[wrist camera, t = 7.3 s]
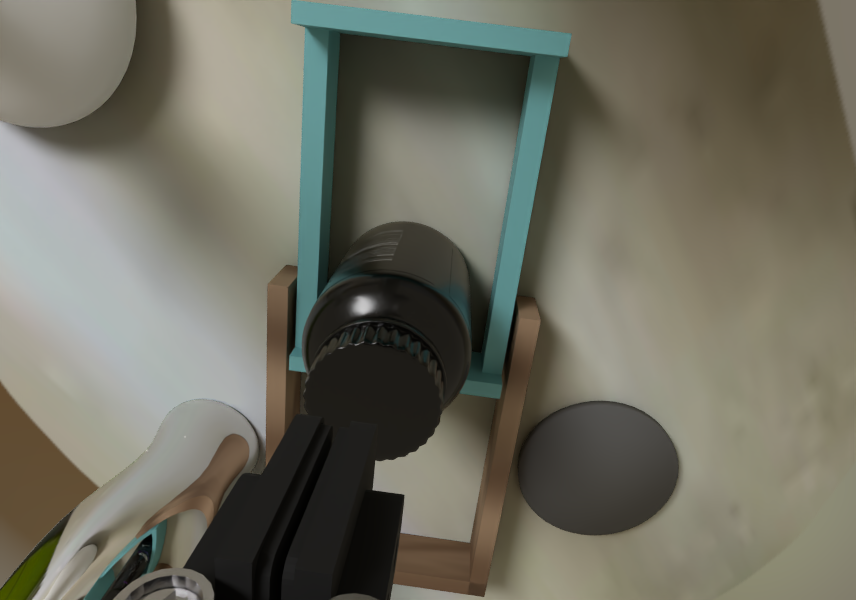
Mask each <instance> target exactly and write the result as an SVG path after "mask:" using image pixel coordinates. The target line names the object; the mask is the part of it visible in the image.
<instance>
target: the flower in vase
mask: <svg viewBox="0 0 856 600" xmlns="http://www.w3.org/2000/svg"><path fill="white" fill-rule="evenodd" d="M136 21H137V16H136V0H0V120H1V121H4V122H7V123H11V124H15V125H19V126H26V127H36V128H48V127H55V126H62V125H66V124H69V123H72V122H75V121H78V120H80V119H82V118H84V117H86V116H88V115H90V114H91V113H92V112H94V111H95V110H96V109H98V108H99V107H101V106H102V105H103V104H104V103H105V102H106V101H107V100H108V99H109V98H110V96H111V95H112V94H113V92H114V91H115V90H116V88H117V87H118V85H119V84H120V82H121V80H122V78H123V76H124V74H125V72H126V70H127V68H128V65H129V62H130V59H131V56H132V53H133V47H134V42H135V37H136Z"/></svg>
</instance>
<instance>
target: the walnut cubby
mask: <svg viewBox="0 0 856 600" xmlns="http://www.w3.org/2000/svg"><path fill="white" fill-rule="evenodd" d="M297 274H298V266H291V265H286V266H285V267H284V268H283V269H282V270H281V271H280V272H279V273H278V274H277V275H276V276H275V277H274V278H273V279H272V280H271V281H270V282H269V283H268V295H267V390H266V466H267V464H268V462H269V461H270V459H271V457H272V455H273V454H274V452H275V450H276V448H277V447H278V445H279V443H280V441H281V440H282V438H283V436H284V434H285V432H286V431H287V429H288V427H289V425H290V424H291V422H292V420H293V418H294V417H295V415H296V414H300V390H301V372H299V371H292V370H289V356H290V354H291V353H292V351H293V350H294V348H295V338H296V306H297ZM540 322H541V320H540V316H539V312H538V308H537V305H536V301H535V298H532V297H525V296H517V295H516V299H515V305H514V310H513V316H512V321H511V326H510V332H509V337H508V343H507V348H506V354H505V359H504V364H503V370H502V390H501V396H500V399H496V405H495V410H494V416H493V421H492V426H491V432H490V437H489V443H488V448H487V454H486V459H485V464H484V470H483V475H482V481H481V486H480V492H479V497H478V503H477V508H476V513H475V519H474V524H473V530H472V535H471V541H470V543H465V542H458V541H451V540H444V539H437V538H430V537H423V536H416V535H410V534H403V533H400V539H399V546H398V554H397V560H396V567H395V573H394V579H393V584H399V585H406V586H413V587H420V588H427V589H433V590H440V591H447V592H454V593H461V594H468V595H475V596H481V597H484V595H485V591H486V586H487V581H488V576H489V571H490V566H491V561H492V556H493V552H494V547H495V542H496V537H497V532H498V527H499V522H500V517H501V513H502V508H503V503H504V498H505V493H506V488H507V483H508V478H509V474H510V469H511V464H512V459H513V454H514V449H515V444H516V439H517V435H518V430H519V425H520V420H521V415H522V410H523V405H524V400H525V396H526V391H527V386H528V381H529V376H530V371H531V366H532V361H533V357H534V352H535V347H536V342H537V337H538V332H539V327H540Z"/></svg>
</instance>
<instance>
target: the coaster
mask: <svg viewBox="0 0 856 600" xmlns="http://www.w3.org/2000/svg"><path fill="white" fill-rule="evenodd" d="M518 477H519V483H520V488H521V491H522V494H523V496H524V498H525V500H526V502H527V503H528V505H529V506H530V507H531V509H532V510H533V511H534V512H535V513H536V514H537V515H538V516H539V517H541V518H542V519H543V520H545V521H546V522H548V523H550V524H551V525H553V526H555V527H557V528H560V529H562V530H565V531H568V532H572V533H577V534H584V535H605V534H612V533H617V532H621V531H624V530H627V529H630V528H633V527H635V526H637V525H639V524H641V523H643V522H644V521H646V520H648V519H649V518H650V517H652V516H653V515H655V514H656V513H657V512H658V511H659V510H660V509H661V508H662V507H663V506H664V504H665V503H666V502H667V501H668V499H669V497H670V496H671V494H672V492H673V490H674V488H675V485H676V481H677V478H678V458H677V454H676V451H675V448H674V446H673V444H672V442H671V440H670V438H669V436H668V435H667V433H666V432H665V430H664V429H663V428H662V426H661V425H660V424H659V423H658V422H657V421H656V420H654V419H653V418H652V417H651V416H649V415H648V414H646V413H645V412H643V411H641V410H639V409H637V408H635V407H632V406H629V405H626V404H622V403H617V402H610V401H590V402H583V403H578V404H574V405H571V406H568V407H565V408H563V409H560V410H558V411H556V412H555V413H553V414H551V415H549V416H548V417H547V418H545V419H544V420H542V421H541V422H540V423H539V424H538V425H537V426H536V427H535V428H534V429H533V430H532V431H531V432H530V434H529V435H528V437H527V438H526V440H525V442H524V444H523V446H522V448H521V451H520V455H519V460H518Z"/></svg>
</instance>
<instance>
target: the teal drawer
mask: <svg viewBox="0 0 856 600" xmlns="http://www.w3.org/2000/svg"><path fill="white" fill-rule="evenodd" d="M291 23H292V24H296V25H300V26H304V27H305V48H304V80H303V113H302V145H301V177H300V209H299V241H298V274H297V306H296V338H295V348H294V350H293V351H292V353H291V354H290V356H289V370H292V371H299V372H306V370H305V367H304V363H303V358H302V335H303V330H304V326H305V323H306V320H307V318H308V316H309V314H310V311H311V309H312V308H313V306H314V304H315V303H316V301H317V299H318V298H319V296H320V294H321V293H322V291H323V290H324V288H325V286H326V285H327V279H328V260H329V241H330V222H331V202H332V183H333V164H334V144H335V125H336V106H337V87H338V67H339V48H340V33H344V34H352V35H360V36H368V37H376V38H384V39H393V40H401V41H409V42H417V43H425V44H434V45H442V46H450V47H458V48H466V49H475V50H483V51H491V52H499V53H507V54H516V55H524V56H531V58H530V64H529V70H528V76H527V82H526V88H525V94H524V100H523V106H522V112H521V118H520V124H519V130H518V136H517V142H516V148H515V154H514V160H513V166H512V172H511V178H510V184H509V190H508V196H507V202H506V208H505V214H504V220H503V226H502V232H501V238H500V244H499V250H498V256H497V262H496V268H495V274H494V280H493V286H492V292H491V298H490V304H489V310H488V316H487V322H486V328H485V334H484V340H483V346H482V352H481V353H479V352H472V356H471V365H470V370H469V374H468V377H467V379H466V382H465V384H464V386H463V388H462V389H461V391H460V394H467V395H474V396H482V397H489V398H496V399H500V396H501V390H502V370H503V364H504V359H505V354H506V348H507V343H508V337H509V332H510V326H511V321H512V316H513V310H514V305H515V299H516V294H517V288H518V283H519V278H520V272H521V267H522V261H523V256H524V250H525V245H526V240H527V234H528V229H529V223H530V218H531V212H532V207H533V202H534V196H535V191H536V185H537V180H538V174H539V169H540V164H541V158H542V153H543V147H544V142H545V136H546V131H547V126H548V120H549V115H550V109H551V104H552V98H553V93H554V88H555V82H556V77H557V71H558V66H559V60H560V58H563V57H567V56H568V51H569V45H570V40H571V35H572V34H570V33H562V32H553V31H545V30H537V29H529V28H520V27H512V26H504V25H496V24H487V23H479V22H471V21H462V20H454V19H446V18H438V17H429V16H421V15H413V14H405V13H396V12H388V11H380V10H371V9H363V8H355V7H347V6H338V5H330V4H322V3H314V2H305V1H297V0H292V4H291Z"/></svg>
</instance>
